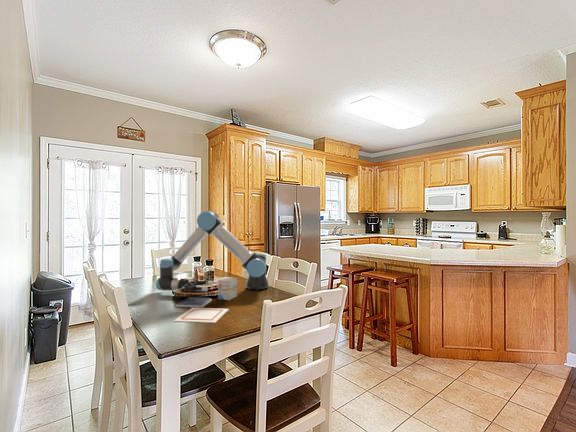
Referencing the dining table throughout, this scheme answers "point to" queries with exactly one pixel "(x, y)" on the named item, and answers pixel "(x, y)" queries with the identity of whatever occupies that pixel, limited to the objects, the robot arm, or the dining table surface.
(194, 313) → the marked sheet
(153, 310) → the dining table surface
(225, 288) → the ink box
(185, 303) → the ink pad
